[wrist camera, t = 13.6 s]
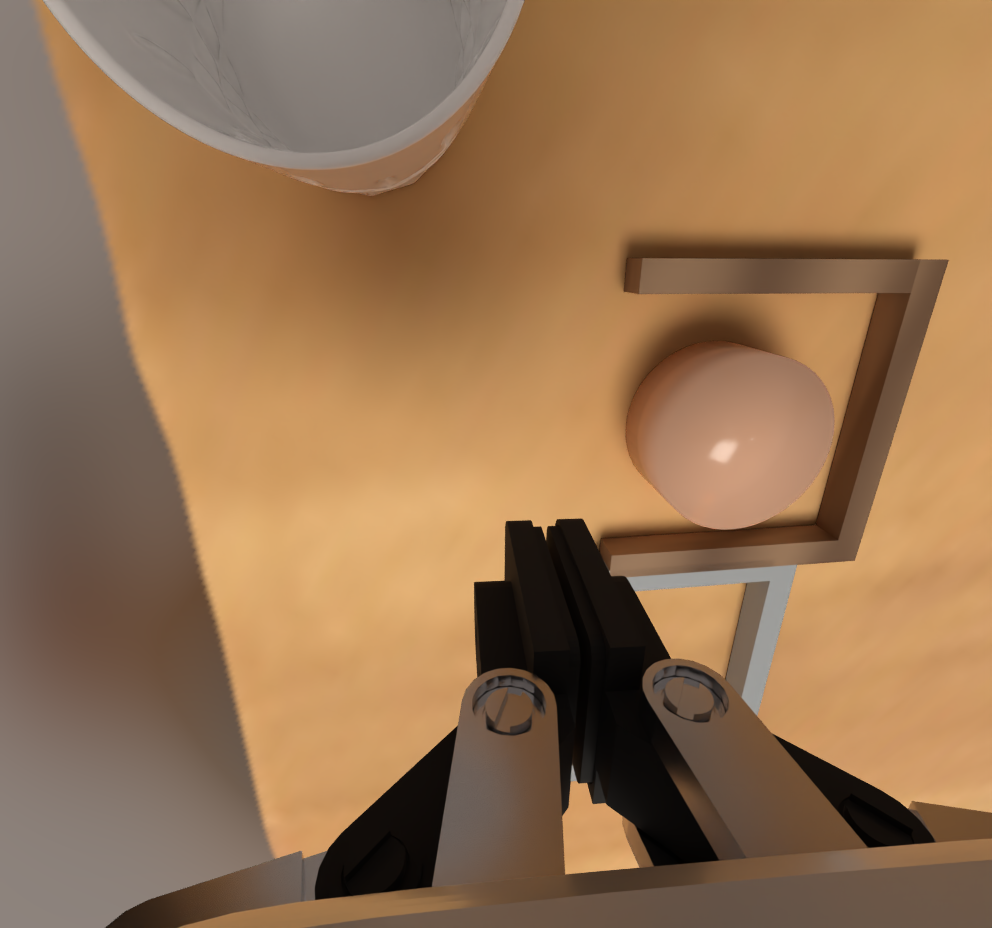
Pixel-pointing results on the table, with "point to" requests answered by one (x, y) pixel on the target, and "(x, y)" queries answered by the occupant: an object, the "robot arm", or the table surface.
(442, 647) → the table surface
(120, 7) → the white cup
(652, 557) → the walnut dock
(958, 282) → the table surface
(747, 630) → the frame
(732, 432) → the beige flattened dome
